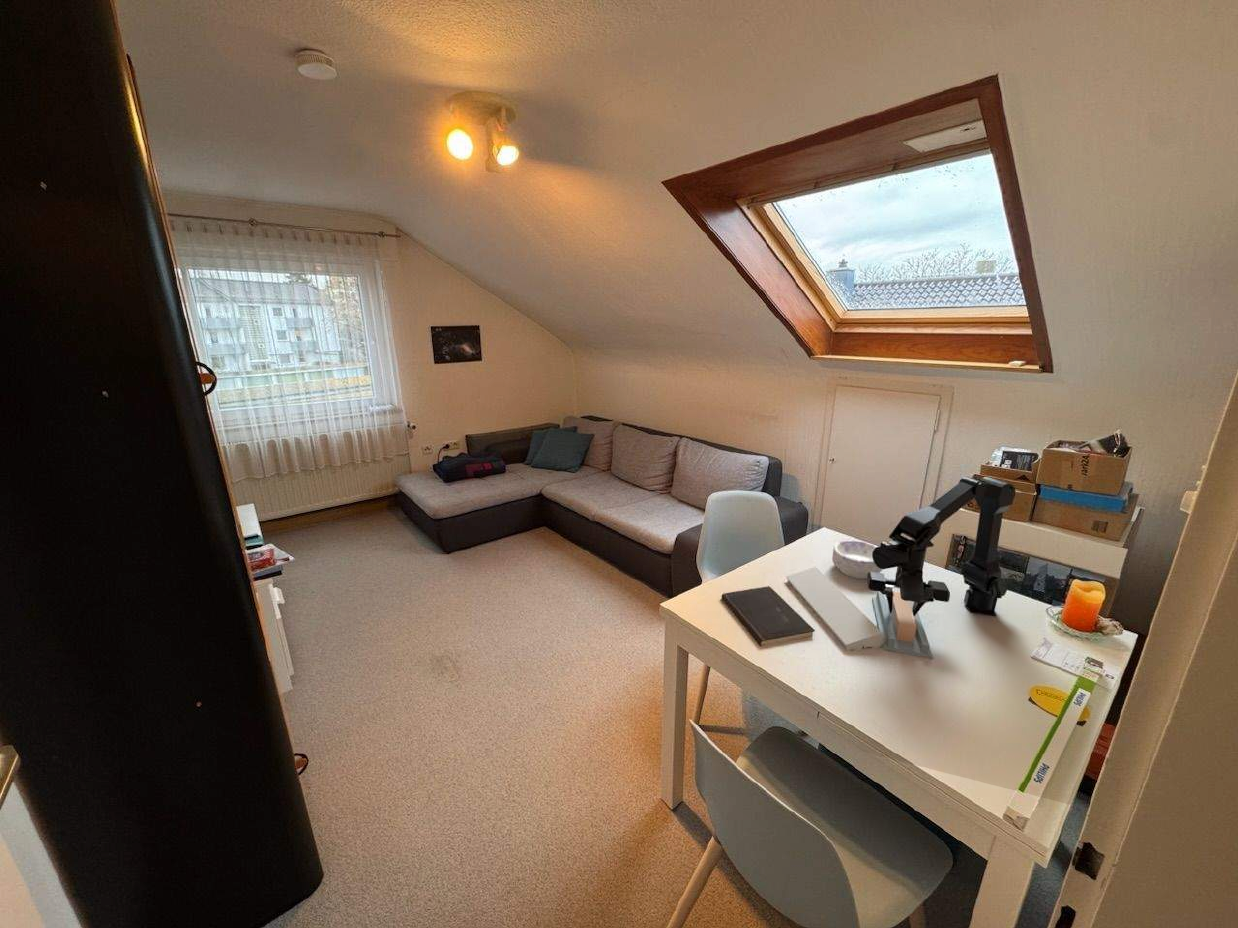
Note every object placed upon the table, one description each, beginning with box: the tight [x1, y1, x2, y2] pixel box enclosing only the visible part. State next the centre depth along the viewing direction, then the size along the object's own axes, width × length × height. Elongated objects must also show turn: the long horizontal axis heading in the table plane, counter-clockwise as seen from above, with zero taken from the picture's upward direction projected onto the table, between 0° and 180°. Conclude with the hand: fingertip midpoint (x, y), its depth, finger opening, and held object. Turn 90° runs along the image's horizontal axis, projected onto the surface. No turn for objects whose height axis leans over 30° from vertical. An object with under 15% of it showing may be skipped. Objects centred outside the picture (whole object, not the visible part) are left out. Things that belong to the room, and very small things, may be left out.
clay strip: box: [888, 591, 917, 643], centre depth 135 cm, size 4×16×5 cm, turn 159°
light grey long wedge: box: [785, 566, 884, 651], centre depth 144 cm, size 34×5×10 cm
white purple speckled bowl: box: [831, 539, 884, 579], centre depth 164 cm, size 15×15×8 cm
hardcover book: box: [721, 585, 816, 647], centre depth 142 cm, size 16×23×2 cm
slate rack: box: [871, 591, 933, 659], centre depth 136 cm, size 11×24×4 cm, turn 160°
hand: (901, 613), depth 135 cm, fingers open, 5 cm apart
